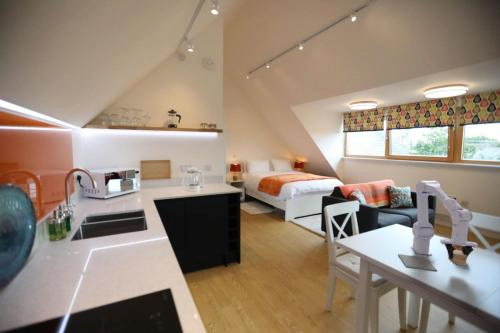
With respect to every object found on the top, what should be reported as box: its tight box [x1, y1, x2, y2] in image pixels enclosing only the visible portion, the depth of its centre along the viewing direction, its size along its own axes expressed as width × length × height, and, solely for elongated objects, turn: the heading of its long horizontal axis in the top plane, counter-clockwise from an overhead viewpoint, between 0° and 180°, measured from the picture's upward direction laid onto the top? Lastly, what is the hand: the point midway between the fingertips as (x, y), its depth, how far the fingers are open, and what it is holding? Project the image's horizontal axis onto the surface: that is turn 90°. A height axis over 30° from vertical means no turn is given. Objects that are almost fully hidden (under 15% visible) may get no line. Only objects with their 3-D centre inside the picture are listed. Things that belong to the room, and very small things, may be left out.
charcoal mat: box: [397, 253, 438, 272], centre depth 130 cm, size 14×14×1 cm
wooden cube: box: [447, 250, 468, 266], centre depth 118 cm, size 5×5×5 cm
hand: (457, 258), depth 118 cm, fingers closed on wooden cube, 5 cm apart
